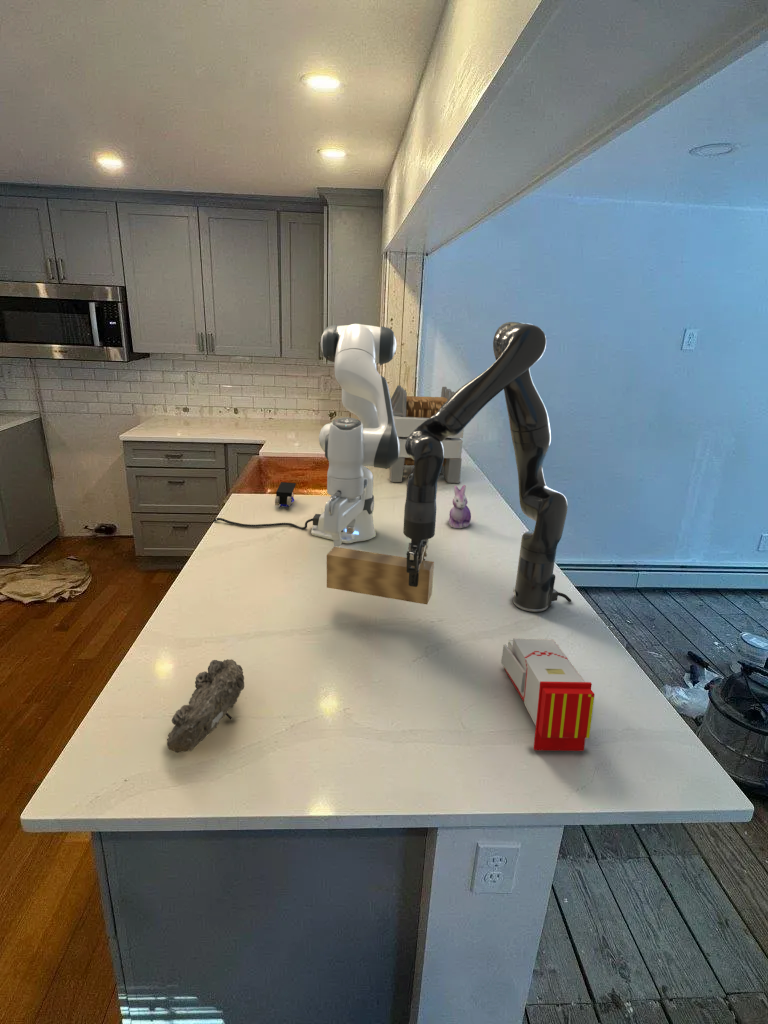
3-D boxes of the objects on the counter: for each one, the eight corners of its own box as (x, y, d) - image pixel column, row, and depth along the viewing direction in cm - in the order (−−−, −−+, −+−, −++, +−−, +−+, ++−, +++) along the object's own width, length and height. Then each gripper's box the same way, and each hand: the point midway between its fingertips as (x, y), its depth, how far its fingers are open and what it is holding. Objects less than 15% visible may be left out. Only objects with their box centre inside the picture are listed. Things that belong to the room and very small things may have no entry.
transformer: (382, 463, 289) (386, 382, 275) (445, 464, 293) (451, 384, 279) (390, 482, 257) (394, 392, 243) (460, 483, 261) (468, 394, 247)
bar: (326, 587, 144) (326, 554, 141) (334, 578, 149) (334, 546, 146) (427, 604, 138) (429, 570, 135) (431, 594, 143) (434, 561, 140)
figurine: (456, 530, 205) (460, 491, 199) (441, 521, 213) (444, 483, 208) (477, 527, 209) (481, 488, 204) (461, 518, 217) (465, 480, 212)
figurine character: (292, 514, 217) (296, 498, 230) (291, 496, 214) (296, 480, 227) (274, 514, 217) (280, 497, 230) (273, 496, 213) (279, 480, 227)
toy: (549, 621, 128) (604, 690, 99) (544, 676, 131) (595, 758, 101) (496, 620, 128) (535, 688, 98) (492, 675, 130) (528, 757, 101)
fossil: (192, 660, 117) (244, 628, 112) (224, 691, 120) (276, 661, 115) (142, 746, 98) (202, 712, 93) (182, 779, 101) (242, 748, 96)
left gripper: (343, 499, 127) (341, 555, 132) (369, 477, 146) (368, 528, 151) (316, 495, 129) (316, 552, 133) (346, 475, 148) (345, 525, 152)
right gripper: (429, 529, 127) (424, 596, 132) (441, 508, 140) (436, 571, 145) (396, 524, 128) (393, 591, 134) (411, 505, 141) (408, 566, 147)
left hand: (344, 539), depth 142 cm, fingers open, 8 cm apart
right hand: (416, 580), depth 140 cm, fingers closed on bar, 5 cm apart
